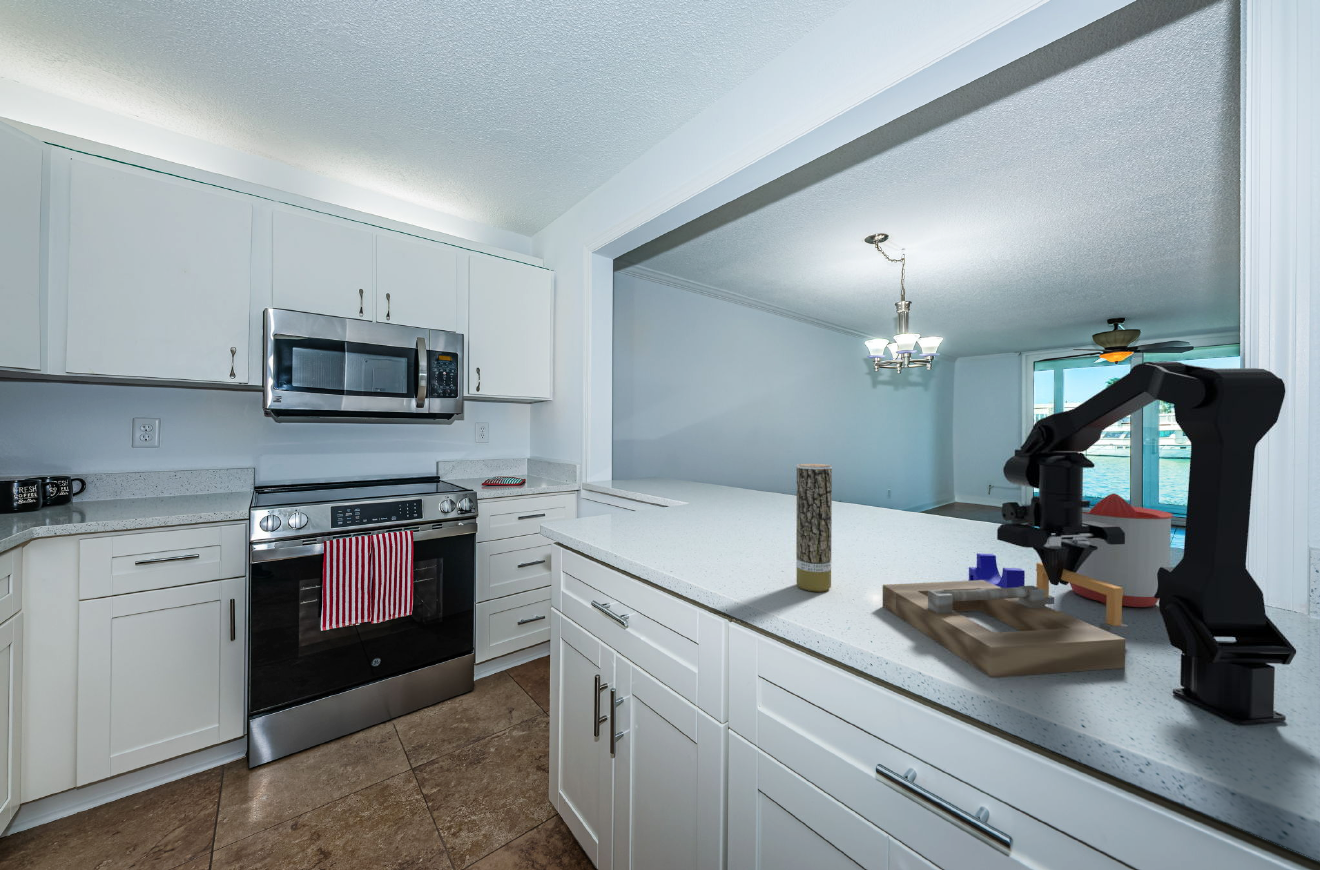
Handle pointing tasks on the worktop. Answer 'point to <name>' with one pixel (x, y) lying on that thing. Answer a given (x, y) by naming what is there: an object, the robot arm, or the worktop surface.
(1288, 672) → the worktop surface
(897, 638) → the worktop surface
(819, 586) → the paper tube
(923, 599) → the wooden picture frame
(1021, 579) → the cable clip
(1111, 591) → the orange staple arch
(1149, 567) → the citrus juicer
